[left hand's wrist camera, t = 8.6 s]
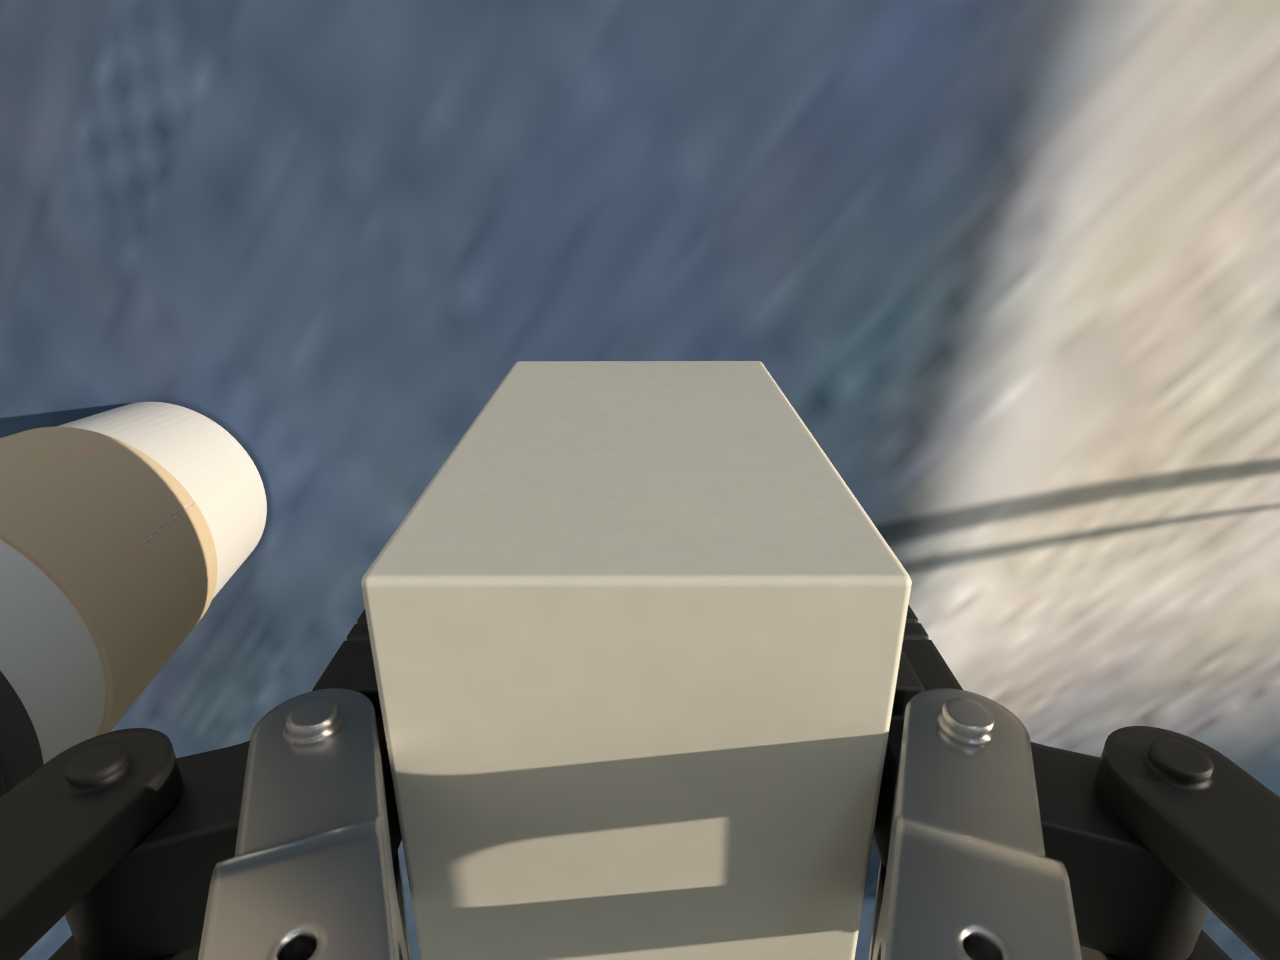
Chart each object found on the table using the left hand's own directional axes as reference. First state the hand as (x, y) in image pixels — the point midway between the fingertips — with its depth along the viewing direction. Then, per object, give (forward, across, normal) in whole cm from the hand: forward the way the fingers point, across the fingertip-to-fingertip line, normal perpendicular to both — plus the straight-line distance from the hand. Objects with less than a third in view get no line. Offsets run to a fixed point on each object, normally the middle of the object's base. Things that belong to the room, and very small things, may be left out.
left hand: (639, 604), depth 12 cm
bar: (+5, 0, -10) cm, 11 cm away
